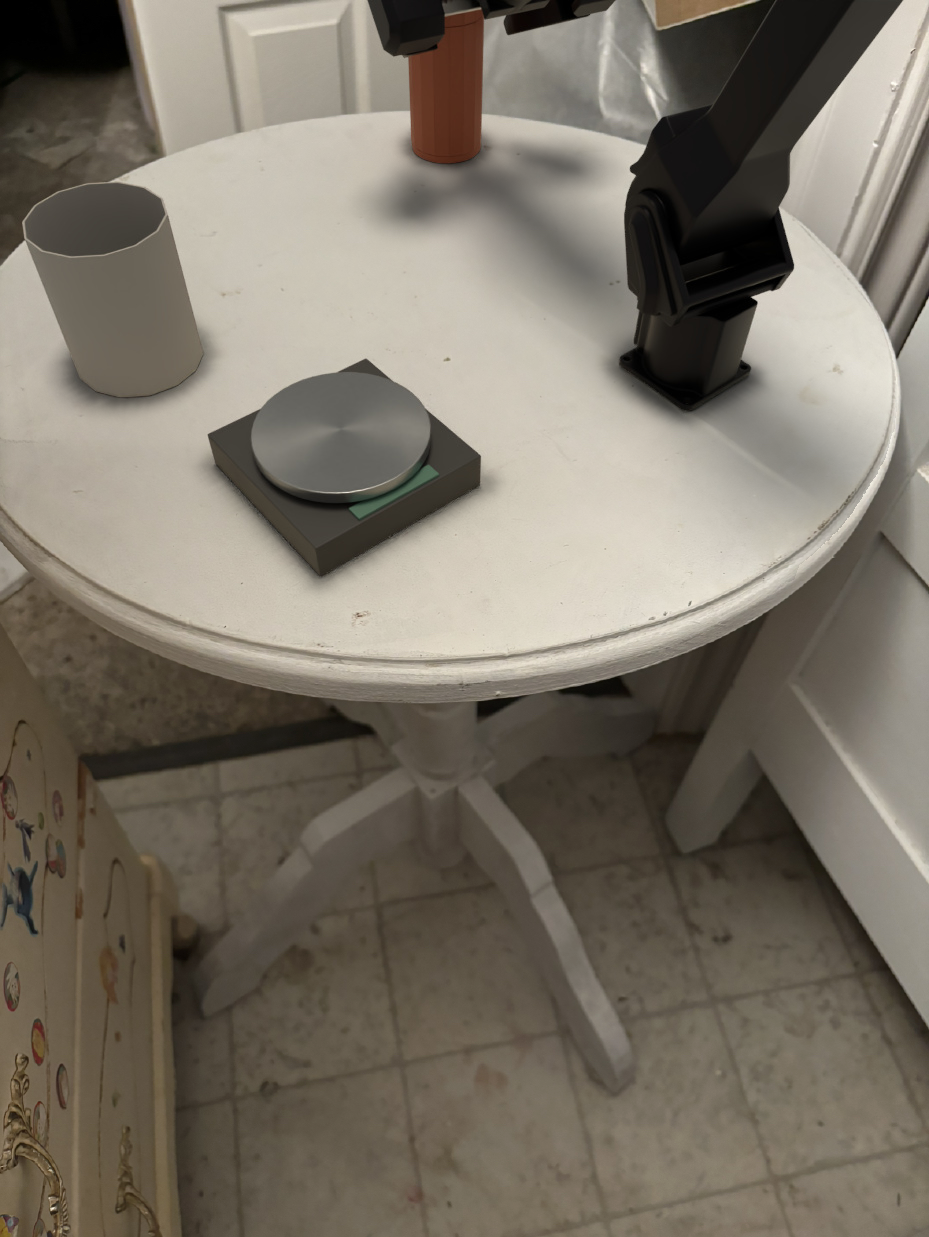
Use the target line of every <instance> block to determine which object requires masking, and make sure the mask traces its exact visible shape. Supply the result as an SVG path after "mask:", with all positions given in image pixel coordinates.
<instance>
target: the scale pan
mask: <svg viewBox="0 0 929 1237" xmlns="http://www.w3.org/2000/svg"><path fill="white" fill-rule="evenodd" d="M336 372H337V373H336ZM336 372H329V373H322V374H318V375H313V376H310V377H306V378H303V379H301V380H298V381H296V382H293V383H292V384H289V385H288V386H285V387H284V388H282V389H280V390H279V391H277V392H276V393H275V394H274V395H272V396H271V397H270V398H269V399H267V401H266V402H265V403H264V404H263V405H262V406H261V407H260V408H259V409H260V411H259V412H258V414H257V415H256V418H255V420H254V422H253V425H252V429H251V447H252V451H253V455H254V458H255V461H256V464H257V466H258V467H259V469H260V471H261V472H262V473H263V475H264V476H265V477H266V478H267V479H268V480H269V481H270V482H271V483H272V484H274V485H275V486H277V487H278V488H280V489H281V490H283V491H285V492H287V493H289V494H291V495H293V496H296V497H299V498H302V499H306V500H310V501H315V502H323V503H350V502H356V501H363V500H366V499H370V498H374V497H377V496H380V495H382V494H385V493H387V492H389V491H391V490H393V489H395V488H397V487H399V486H400V485H402V484H403V483H405V482H406V481H407V480H409V479H410V478H411V477H412V476H413V475H414V474H415V473H416V472H417V471H418V470H419V469H420V467H421V466H422V464H423V463H424V461H425V459H426V457H427V455H428V453H429V449H430V446H431V424H430V419H429V415H428V413H427V411H426V409H427V408H426V407H425V405H424V404H423V403H422V401H421V400H420V398H418V397H417V396H416V394H414V392H412V391H411V390H409V389H408V388H407V387H405V386H403V385H402V384H400V383H398V382H396V381H394V380H392V379H391V380H392V381H391V380H389V379H386V378H383V377H380V376H376V375H371V374H366V373H357V372H338V371H336Z"/></svg>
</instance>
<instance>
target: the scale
mask: <svg viewBox="0 0 929 1237" xmlns="http://www.w3.org/2000/svg"><path fill="white" fill-rule="evenodd" d="M337 372H357V373H366V374H371V375H376V376H380V377H383V378H386V379H389V380H391V381H393V379H391V378H390V377H389V376H388V375H386V373H384V372H383V371H382V370H381V369H379V367H377V366H376V365H375V364H374V363H372V361H370V360H369V359H368V358H363V359H361V360H359V361H357V362H355V363H353V364H351V365H349V366H347V367H345V368H342V369H340V370H338V371H336V372H335V373H337ZM260 409H261V408H259V409H257V410H254V411H253V412H251V413H249V414H247V415H244V416H242V417H240V418H238V419H236V420H234V421H232V422H230V423H227V424H225V425H223V426H222V427H219V428H217V429H215V430H213V431H211V432H209V433H208V434H207V438H208V442H209V446H210V449H211V453H212V455H213V460H214V464H215V465H216V466H217V467H218V468H219V469H220V470H221V471H222V472H223V473H224V474H225V476H226V477H227V478H228V479H229V480H230V481H231V482H232V483H233V484H234V485H235V486H236V487H237V488H238V490H239V491H240V492H242V494H243V495H244V496H245V497H246V498H247V499H248V500H249V502H250V503H251V504H252V505H254V507H255V508H256V509H257V510H258V511H259V512H260V513H261V514H262V515H263V516H264V517H265V519H266V520H267V521H268V522H269V523H270V524H271V525H272V526H273V527H274V528H275V530H277V532H278V533H279V534H280V535H281V536H282V537H283V538H284V539H285V540H286V541H287V542H288V543H289V544H290V546H291V547H292V548H294V550H295V551H296V552H297V553H298V554H299V555H300V556H301V557H302V559H304V561H306V562H307V564H308V565H309V566H310V567H311V568H312V569H313V570H314V571H315V572H316V574H318V576H320V577H322V576H325V575H326V574H328V573H330V572H332V570H335V569H337V568H338V567H340V566H342V565H344V564H345V563H347V562H349V561H350V560H352V559H354V558H355V557H357V556H359V555H361V554H363V553H365V552H366V551H367V550H369V549H371V548H373V547H374V546H376V545H378V544H379V543H381V542H383V541H385V540H387V539H388V538H390V537H392V536H393V535H395V534H397V533H399V532H401V531H402V530H404V529H405V528H407V527H409V526H411V525H413V524H415V523H416V522H418V521H420V520H422V519H423V518H425V517H427V516H429V515H430V514H431V513H434V512H435V511H437V510H439V509H440V508H442V507H444V506H445V505H448V504H449V503H450V502H452V501H454V500H456V499H458V498H460V497H461V496H463V495H465V494H467V493H468V492H470V491H472V490H473V489H475V488H477V487H478V486H480V485H481V470H482V455H481V454H480V453H479V452H477V450H476V449H474V448H473V447H471V445H469V444H468V443H467V442H466V441H465V440H463V439H462V438H461V437H460V436H459V435H457V434H456V433H455V432H454V431H452V430H451V428H449V427H448V426H447V425H445V424H444V423H443V422H442V421H441V420H440V419H438V418H437V416H435V415H434V414H433V413H431V411H429V410H428V409H427V408H425V409H426V411H427V413H428V415H429V419H430V424H431V446H430V449H429V453H428V455H427V457H426V459H425V461H424V463H423V464H422V466H421V467H420V469H419V470H418V471H417V472H416V473H415V474H414V475H413V476H412V477H411V478H410V479H409V480H407V481H406V482H405V483H403V484H402V485H400V486H399V487H397V488H395V489H393V490H391V491H389V492H387V493H385V494H382V495H380V496H377V497H374V498H370V499H366V500H363V501H356V502H350V503H323V502H315V501H310V500H306V499H302V498H299V497H296V496H293V495H291V494H289V493H287V492H285V491H283V490H281V489H280V488H278V487H277V486H275V485H274V484H272V483H271V482H270V481H269V480H268V479H267V478H266V477H265V476H264V475H263V473H262V472H261V471H260V469H259V467H258V466H257V464H256V461H255V458H254V455H253V451H252V447H251V429H252V425H253V422H254V420H255V418H256V415H257V414H258V412H259V411H260Z"/></svg>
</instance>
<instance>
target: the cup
mask: <svg viewBox="0 0 929 1237" xmlns="http://www.w3.org/2000/svg"><path fill="white" fill-rule="evenodd" d="M21 223H22V230H23V238H24V241H25V243H26V246H27V249H28V251H29V254H30V256H31V259H32V261H33V264H34V266H35V269H36V271H37V274H38V277H39V279H40V281H41V284H42V286H43V289H44V291H45V294H46V296H47V299H48V302H49V304H50V307H51V309H52V311H53V314H54V317H55V319H56V321H57V324H58V327H59V329H60V331H61V334H62V336H63V339H64V342H65V344H66V346H67V349H68V352H69V354H70V357H71V360H72V362H73V364H74V367H75V369H76V372H77V375H78V377H79V379H80V380H81V381H83V382H84V383H85V384H86V385H87V386H88V387H90V388H91V389H92V390H93V391H94V392H97V393H101V394H105V395H109V396H113V397H117V398H132V397H133V398H135V397H148V396H152V395H155V394H157V393H158V394H159V393H160V392H163V391H164V392H165V391H167V390H170V389H172V388H174V387H175V388H176V387H177V386H178V385H179V384H181V383H182V382H184V381H185V380H187V378H188V377H190V376H191V375H193V373H195V372H196V371H197V369H198V368H199V365H200V363H201V360H202V358H203V355H204V353H205V352H204V349H203V344H202V341H201V337H200V333H199V329H198V326H197V322H196V318H195V314H194V310H193V306H192V301H191V298H190V295H189V290H188V286H187V283H186V279H185V274H184V270H183V267H182V264H181V260H180V255H179V251H178V249H177V244H176V240H175V237H174V232H173V228H172V224H171V221H170V216H169V213H168V210H167V208H166V203H165V200H164V198H163V197H162V196H161V195H159V194H157V193H156V192H154V191H152V190H151V189H149V188H148V187H146V186H142V185H137V184H133V183H127V182H123V181H106V182H104V181H103V182H88V183H84V184H83V183H82V184H80V185H76V186H73V187H69V188H65V189H62V190H58V191H56V192H54V193H53V194H51V195H49V196H48V197H46V198H44V199H43V200H40V201H39V202H37V203H35V204H34V205H33V206H32V207H31V209H30V210H29V212H28V213H27V215H26V216H25V217H24V219H23V220H22V222H21Z"/></svg>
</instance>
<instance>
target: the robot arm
mask: <svg viewBox="0 0 929 1237" xmlns="http://www.w3.org/2000/svg"><path fill="white" fill-rule="evenodd" d="M366 1H367V4H368V6H369V10H370V13H371V16H372V19H373V22H374V25H375V29H376V32H377V34H378V37H379V41H380V43H381V48H382V50H383V51H384V52H386V53H388V54H389V55H390V56H392V57H397V56H398V57H399V56H402V57H403V59H406V58H407V59H408V57H411V56H415V55H418V54H422V53H425V52H429V51H433V50H436V49H437V48H438V46H437V43H439V42H440V41H441V39H442V38H443V36H444V35H445V17H447V16H451V15H456V14H461V13H466V12H471V11H476V10H481V9H482V13H483V16H484V21H486V20H491V19H495V18H500V17H504V16H505V17H504V19H503V26H504V29H505V34H506V35H507V36H512V35H517V34H520V33H525V32H528V31H529V32H530V31H534V30H537V29H541V28H545V27H549V26H554V25H558V24H562V23H568V22H571V21H575V20H580V19H583V18H587V17H590V16H591V15H593V14H598V13H601V12H606V11H608V10H609V9H610V7H611V6H613V4H615V3H616V1H617V0H451V1H450V0H446V2H445V0H366ZM903 2H904V0H775V1H774V2H773V4H772V6H771V7H770V8H769V10H768V12H767V13H766V15H765V16H764V18H763V21H762V22H761V24H760V25H759V27H758V29H757V30H756V32H755V34H754V35H753V37H752V39H751V40H750V42H749V44H748V46H747V47H746V49H745V50H744V52H743V54H742V56H741V57H740V59H739V60H738V62H737V64H736V66H735V67H734V69H733V70H732V72H731V74H730V76H729V77H728V79H727V80H726V82H725V84H723V87H722V88H721V91H720V92H719V94H718V96H717V97H716V99H715V100H714V102H713V103H709V104H706V105H702V106H699V107H695V108H691V109H686V110H685V111H679V112H676V113H672V114H669V115H665V116H664V115H663V116H662V117H661V118H660V119H659V120H658V122H657V123H656V124H655V126H654V127H653V128H652V130H651V132H650V134H649V138H648V140H647V142H646V146H645V148H644V151H643V153H642V154H641V156H640V157H639V158H638V160H637V161H635V162H634V163H633V164H631V165H630V167H629V172H630V173H631V174H632V175H634V177H633V179H632V181H631V182H630V185H629V188H628V190H627V194H626V198H625V204H624V212H623V226H624V245H625V246H624V248H625V264H626V265H625V266H626V280H627V288H628V290H629V291H630V292H631V293H632V294H633V295H635V296H636V301H637V305H636V309H637V310H638V314H637V320H636V326H635V331H634V335H633V336H634V337H633V344H634V345H635V346H636V347H634V348H633V349H631V350H629V351H627V352H625V353H623V354H622V355H620V357H619V359H618V360H619V361H618V366H619V367H621V368H622V369H623V370H625V371H626V372H628V373H629V374H631V375H632V376H634V377H635V378H636V379H637V380H639V381H641V382H642V383H643V384H645V385H646V386H648V387H649V388H651V389H652V390H653V391H655V392H656V393H658V394H659V395H660V396H662V397H663V398H665V399H666V400H668V401H669V402H671V403H672V404H673V405H674V406H676V407H677V408H679V410H682V411H686V412H691V411H693V410H694V409H696V408H698V407H699V406H701V405H703V404H704V403H706V402H707V401H709V400H710V399H711V400H712V399H713V398H715V397H716V396H718V395H719V394H720V393H722V392H724V391H726V390H728V389H729V388H731V387H732V386H734V385H735V384H738V383H739V382H740V381H742V380H744V379H746V378H747V377H749V376H750V374H751V370H752V367H751V365H750V364H749V363H747V362H745V361H744V360H742V357H743V354H744V350H745V347H746V344H747V341H748V338H749V334H750V331H751V327H752V325H753V324H752V323H753V321H754V318H755V314H756V311H757V307H758V305H759V302H758V300H757V299H755V298H753V297H755V296H758V295H761V294H764V293H767V292H774V291H778V290H780V289H781V288H782V286H783V285H784V284H785V282H786V281H787V280H788V278H789V277H790V276H791V274H792V273H793V271H794V270H795V262H794V258H793V255H792V251H791V247H790V243H789V240H788V236H787V233H786V229H785V225H784V222H783V217H782V214H781V210H780V205H781V204H782V202H783V200H784V199H785V197H786V195H787V193H788V191H789V188H790V185H791V153H792V151H793V149H794V148H795V146H796V145H797V143H798V142H799V140H800V139H801V137H803V135H804V134H805V133H806V131H807V130H808V128H809V127H810V126H811V125H812V123H813V122H814V120H815V119H816V118H817V116H818V115H819V114H820V112H821V111H822V110H823V109H824V107H825V106H826V105H827V103H828V102H829V100H830V99H831V98H832V96H833V95H834V94H835V92H836V91H837V90H838V89H839V87H840V86H841V85H842V83H843V82H844V80H845V79H846V77H847V76H848V75H849V74H850V72H851V71H852V69H853V68H854V67H855V66H856V64H857V63H858V61H859V60H860V59H861V57H862V56H863V55H864V53H865V52H866V51H867V49H868V48H869V47H870V46H871V45H872V43H873V42H874V40H875V39H876V38H877V37H878V35H879V33H880V32H881V31H882V30H883V28H884V27H885V26H886V24H887V23H888V22H889V21H890V19H891V17H893V15H894V14H895V12H896V11H897V9H898V8H899V7H900V5H902V3H903Z"/></svg>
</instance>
